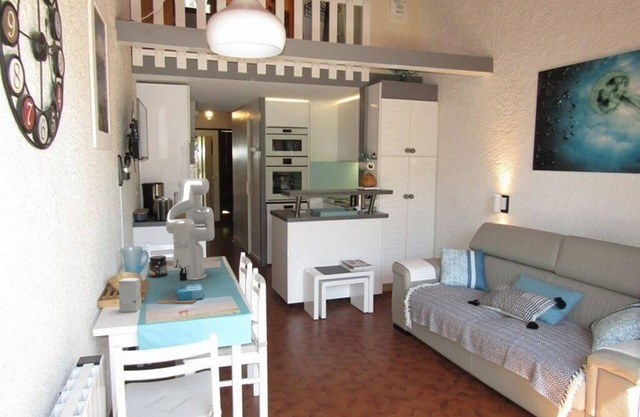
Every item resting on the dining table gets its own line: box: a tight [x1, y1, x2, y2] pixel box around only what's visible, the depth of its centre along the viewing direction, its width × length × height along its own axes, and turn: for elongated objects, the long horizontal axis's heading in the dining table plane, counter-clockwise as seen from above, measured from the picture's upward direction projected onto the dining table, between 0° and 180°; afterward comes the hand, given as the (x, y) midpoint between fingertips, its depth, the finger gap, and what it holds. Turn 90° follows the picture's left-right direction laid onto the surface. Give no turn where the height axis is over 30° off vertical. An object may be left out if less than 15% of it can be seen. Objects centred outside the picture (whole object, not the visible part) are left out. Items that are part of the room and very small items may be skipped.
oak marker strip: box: [156, 300, 194, 305], centre depth 220 cm, size 1×18×1 cm, turn 83°
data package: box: [177, 283, 204, 301], centre depth 229 cm, size 12×4×12 cm
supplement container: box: [148, 254, 169, 279], centre depth 278 cm, size 10×10×12 cm
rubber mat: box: [159, 293, 205, 304], centre depth 227 cm, size 14×18×1 cm
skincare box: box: [118, 277, 142, 313], centre depth 211 cm, size 8×6×15 cm
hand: (183, 280), depth 230 cm, fingers closed
